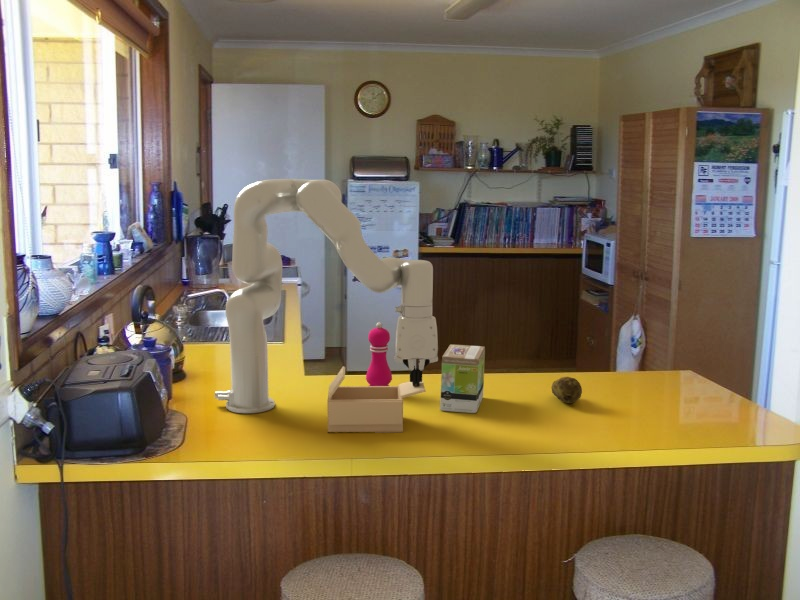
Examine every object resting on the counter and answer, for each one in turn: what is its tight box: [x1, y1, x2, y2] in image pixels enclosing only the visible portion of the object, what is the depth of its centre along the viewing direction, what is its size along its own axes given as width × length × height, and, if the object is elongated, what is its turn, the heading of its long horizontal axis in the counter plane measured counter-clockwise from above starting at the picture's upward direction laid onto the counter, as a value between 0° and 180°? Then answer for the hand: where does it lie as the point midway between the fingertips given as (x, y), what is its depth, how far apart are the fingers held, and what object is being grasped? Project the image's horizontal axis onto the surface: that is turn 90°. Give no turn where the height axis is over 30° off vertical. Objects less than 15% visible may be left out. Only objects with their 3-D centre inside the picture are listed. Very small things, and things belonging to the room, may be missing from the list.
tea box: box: [439, 344, 486, 414], centre depth 224 cm, size 15×10×15 cm, turn 168°
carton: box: [326, 385, 404, 433], centre depth 208 cm, size 18×13×8 cm
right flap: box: [398, 379, 426, 399], centre depth 207 cm, size 1×10×6 cm
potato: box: [551, 376, 583, 404], centre depth 226 cm, size 8×13×8 cm, turn 166°
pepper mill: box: [365, 321, 393, 386], centre depth 233 cm, size 7×7×20 cm
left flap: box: [327, 366, 346, 398], centre depth 206 cm, size 1×10×6 cm
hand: (415, 384), depth 207 cm, fingers closed
